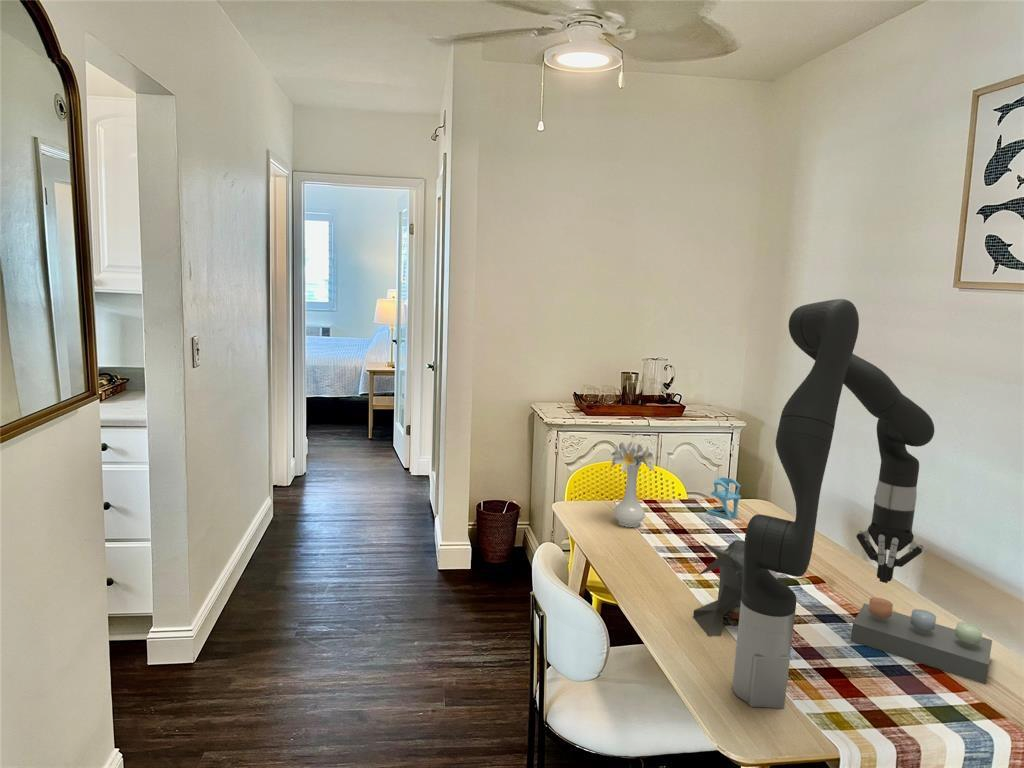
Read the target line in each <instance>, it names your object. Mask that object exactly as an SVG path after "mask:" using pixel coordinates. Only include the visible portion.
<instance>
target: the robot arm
mask: <svg viewBox="0 0 1024 768" xmlns="http://www.w3.org/2000/svg"><path fill="white" fill-rule="evenodd" d="M859 327H860V319H859V312H858V309H857V307H856V306H855V304H854V303H853V302H852V301H850V300H848V299H846V298H845V299H844V298H840V299H839V298H836V299H831V300H824V301H819V302H818V301H817V302H813V303H807V304H804V305H801V306H799V307H797V308H795V309H794V310H792V312H791V314H790V316H789V320H788V332H789V336H790V337H791V339H792V341H793V343H794V344H795V345H796V346H797V347H798V348H799V350H801V351H802V352H804V354H806V355H807V356H808V357H810V358H811V359H812V360H814V363H813V366H812V368H811V369H810V371H809V374H807V376H806V377H805V379H803V381H802V382H801V384H800V385H799V386H798V387H797V388H796V390H794V392H793V393H792V395H791V396H790V397H789V398H788V400H787V402H786V403H785V405H784V407H783V408H782V411H781V415H780V418H779V423H778V428H777V431H776V437H775V448H776V453H777V455H778V457H779V460H780V463H781V465H782V468H783V469H784V472H785V474H786V476H787V479H788V482H789V484H790V488H791V489H792V493H793V497H794V500H795V520H794V521H791V520H789V519H783V518H781V517H780V518H779V517H776V516H775V517H774V516H771V515H766V514H761V513H760V514H755V515H753V516H752V517H751V518H750V520H749V522H748V523H747V526H746V530H745V535H744V541H745V542H744V564H743V579H742V596H741V606H740V614H739V619H738V625H737V635H736V636H737V637H736V646H735V653H734V655H735V656H734V662H733V663H734V665H733V675H732V685H731V688H732V691H733V692H734V694H735V696H737V697H738V698H739V699H741V700H742V701H744V702H746V703H747V704H748V706H750V707H754V708H777V709H779V708H781V709H783V708H785V705H786V696H787V687H788V681H789V679H788V678H789V671H790V663H791V662H790V661H791V660H790V659H791V652H792V643H793V633H794V626H795V625H794V624H795V617H796V609H797V596H796V594H795V592H794V590H792V588H791V587H790V586H788V585H786V584H785V583H784V582H782V581H780V580H779V579H778V578H777V579H776V578H775V577H774V576H773V575H772V574H771V573H770V572H769V570H771V571H775V572H776V573H778V574H782V575H785V576H786V575H787V576H791V577H795V578H796V577H797V578H799V577H802V576H803V575H805V573H806V572H807V571H808V568H809V565H810V562H811V558H812V553H813V548H814V541H815V540H814V539H815V534H816V533H815V532H816V525H817V517H818V511H819V503H820V502H819V501H820V497H821V496H820V495H821V489H822V484H823V480H824V476H825V472H826V467H827V463H828V459H829V454H830V451H831V447H832V446H831V445H832V441H833V435H834V431H835V425H836V418H837V412H838V408H839V403H840V398H841V394H842V390H843V386H845V388H847V389H848V390H849V391H850V392H851V393H852V394H853V395H854V396H855V398H856V399H857V400H858V401H859V402H860V403H861V404H862V406H863V407H864V408H865V409H866V411H868V412H869V413H870V414H871V416H873V417H875V418H876V419H877V421H876V422H877V423H876V437H877V443H878V450H879V451H878V452H879V455H880V467H879V474H878V480H877V486H876V488H875V493H874V496H873V497H874V498H873V499H874V502H873V509H872V516H871V523H870V524H869V526H868V528H867V529H866V530H864V531H863V530H860V531H859V532H858V533H857V534H856V539H857V541H858V542H859V544H860V546H861V548H862V549H863V550H864V552H865V554H866V555H867V557H868V558H869V559H870V560H871V561H875V562H876V563H877V570H876V571H877V572H876V578H877V579H879V582H880V583H884V584H888V583H889V582H891V581H892V579H893V577H894V569H895V567H896V568H897V567H899V568H902V567H904V566H905V565H906V564H909V562H911V561H913V560H914V559H915V558H916V557H918V556H919V555H921V554H922V553H923V551H924V546H923V545H922V544H918V543H917V541H916V540H915V539H914V536H915V535H914V534H913V525H914V517H915V511H916V503H917V492H918V491H917V490H918V489H917V485H918V481H919V480H918V479H919V472H920V461H919V460H918V458H917V457H915V456H914V455H913V454H910V452H909V451H908V449H907V447H906V446H910V447H917V448H918V447H923V446H926V445H927V444H929V443H930V442H931V441H932V439H933V437H934V435H935V423H934V422H933V420H932V417H931V416H930V415H929V414H928V412H927V411H925V410H924V409H923V408H922V407H921V406H919V404H917V403H915V402H914V401H913V400H912V399H910V398H908V397H907V396H906V395H904V394H903V393H902V392H901V390H900V389H899V388H898V386H896V384H895V383H894V381H893V380H892V379H891V378H890V377H889V376H888V374H886V373H885V372H884V371H883V370H882V369H881V368H880V367H878V366H876V365H874V364H873V363H872V362H869V361H867V360H866V359H864V358H861V357H860V356H858V355H856V354H855V353H854V349H855V347H856V343H857V339H858V335H859ZM871 539H872V541H873V542H874V544H875V546H876V547H877V551H876V549H875V547H874V546H873V544H872V543H871V541H870V540H871ZM908 545H910V546H909V547H908V551H907V553H905V554H903V555H902V556H901V557H898V556H897V555H898V553H899V552H901V551H902V550H904V549H905V548H906V547H907V546H908ZM887 551H889V552H888V553H887ZM887 555H888V557H887ZM897 557H898V558H897Z"/></svg>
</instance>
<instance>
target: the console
mask: <svg viewBox="0 0 1024 768" xmlns="http://www.w3.org/2000/svg"><path fill="white" fill-rule="evenodd" d="M868 609H869V603H863V604H862V607H861V608H860V610H859V612H858V614H857V615H856V616H855V619H854V620H853V621H852V624H851V625H852V627H851V633H850V641H851V642H854V643H857V644H860V645H862V646H866V647H869V648H873V649H876V650H879V651H882V652H884V653H888V654H892V655H894V656H897V657H901V658H904V659H907V660H910V661H913V662H915V663H916V662H917V663H920V664H923V665H925V666H929V667H932V668H936V669H938V670H941V671H944V672H948V673H950V674H954V675H957V676H960V677H963V678H966V679H969V680H972V681H975V682H978V683H982V684H986V683H987V677H988V670H989V665H990V659H991V651H992V644H993V640H992V639H990V638H986V637H983V636H982V638H981V643H980V644H970V643H966V642H963V641H961V640H959V639H958V638H956V636H955V632H956V628H951V627H948V626H944V625H940V624H939V623H938V624H937V623H935V629H934V630H931V631H928V630H922V629H919V628H916V627H914V626H913V625H912V624H911V623H910V621H911V615H910V616H909V615H906V614H903V613H899V612H896V611H893V610H892V615H891V617H889V618H882V617H878V616H875V615H873V614H871V613H870V612H869V611H868Z"/></svg>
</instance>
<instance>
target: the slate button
mask: <svg viewBox="0 0 1024 768" xmlns="http://www.w3.org/2000/svg"><path fill="white" fill-rule="evenodd" d="M910 617H911V621H910V623H911V624H912V625H913V626H914V627H916V628H919V629H922V630H928V631H931V630H934V629H935V624H937V616H936V615H935V614H934V613H932V612H930V611H928V610H925V609H918V608H916V609H912V611H911V615H910Z"/></svg>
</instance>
